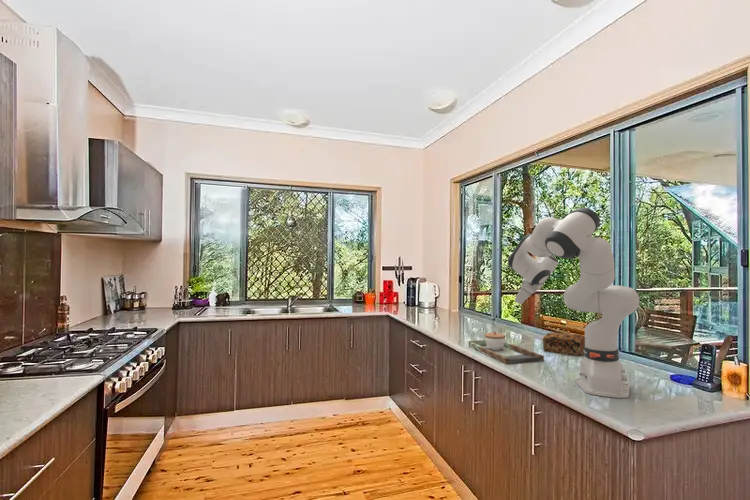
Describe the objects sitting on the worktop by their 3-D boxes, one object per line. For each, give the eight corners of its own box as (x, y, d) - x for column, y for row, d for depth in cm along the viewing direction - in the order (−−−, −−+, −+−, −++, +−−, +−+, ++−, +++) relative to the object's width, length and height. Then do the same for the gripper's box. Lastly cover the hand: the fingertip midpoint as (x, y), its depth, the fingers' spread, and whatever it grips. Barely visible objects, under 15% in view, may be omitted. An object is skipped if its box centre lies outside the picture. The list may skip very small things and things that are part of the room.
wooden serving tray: (543, 361, 188) (543, 354, 188) (506, 364, 183) (506, 357, 183) (500, 344, 225) (500, 338, 225) (468, 346, 220) (468, 341, 220)
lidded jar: (481, 347, 217) (481, 330, 217) (498, 346, 220) (498, 329, 220) (491, 352, 207) (491, 334, 207) (509, 350, 209) (509, 333, 209)
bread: (586, 353, 202) (586, 334, 202) (580, 357, 194) (579, 337, 195) (549, 347, 215) (549, 329, 215) (542, 351, 207) (541, 332, 208)
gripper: (532, 270, 198) (517, 289, 205) (521, 285, 182) (506, 305, 190) (543, 277, 196) (528, 296, 203) (533, 293, 180) (517, 313, 188)
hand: (517, 301), depth 196 cm, fingers closed
